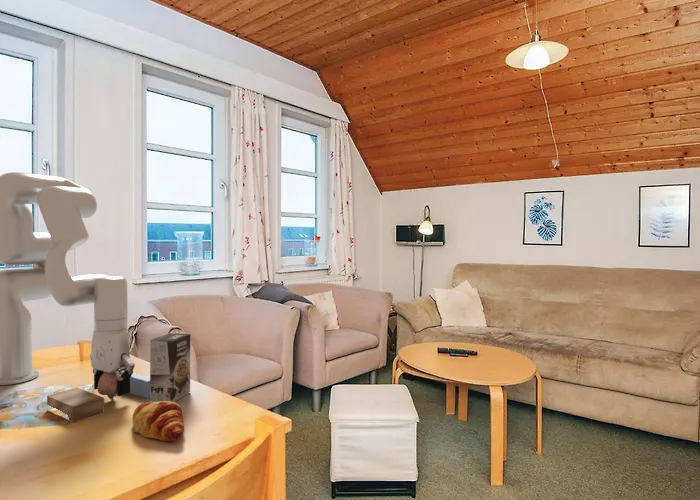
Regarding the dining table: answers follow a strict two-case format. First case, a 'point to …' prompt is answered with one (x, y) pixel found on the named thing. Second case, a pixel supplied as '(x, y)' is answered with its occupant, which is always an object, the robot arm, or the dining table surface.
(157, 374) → the coffee box
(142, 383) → the rail
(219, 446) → the dining table surface
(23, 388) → the dining table surface
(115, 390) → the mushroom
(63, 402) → the slab
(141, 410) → the croissant
